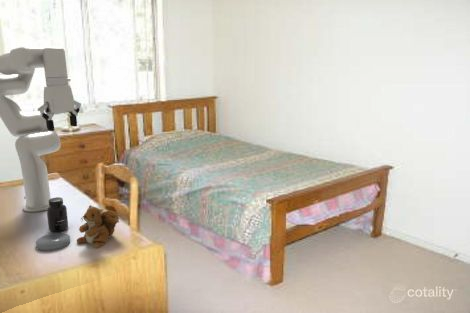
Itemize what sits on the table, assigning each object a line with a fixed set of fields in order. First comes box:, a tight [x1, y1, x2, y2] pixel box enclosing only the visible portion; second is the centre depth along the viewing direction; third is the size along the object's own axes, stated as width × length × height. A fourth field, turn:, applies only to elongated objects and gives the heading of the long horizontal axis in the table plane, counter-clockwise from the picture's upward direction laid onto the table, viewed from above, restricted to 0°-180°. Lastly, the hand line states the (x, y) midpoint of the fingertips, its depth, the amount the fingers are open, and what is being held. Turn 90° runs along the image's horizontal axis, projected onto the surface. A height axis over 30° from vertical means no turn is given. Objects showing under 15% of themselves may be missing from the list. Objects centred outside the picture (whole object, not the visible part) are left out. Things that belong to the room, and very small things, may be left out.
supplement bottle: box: [46, 196, 69, 234], centre depth 158 cm, size 7×7×12 cm
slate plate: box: [35, 232, 71, 252], centre depth 148 cm, size 11×11×2 cm
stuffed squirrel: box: [76, 204, 121, 249], centre depth 149 cm, size 10×14×13 cm
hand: (62, 128), depth 160 cm, fingers open, 9 cm apart
